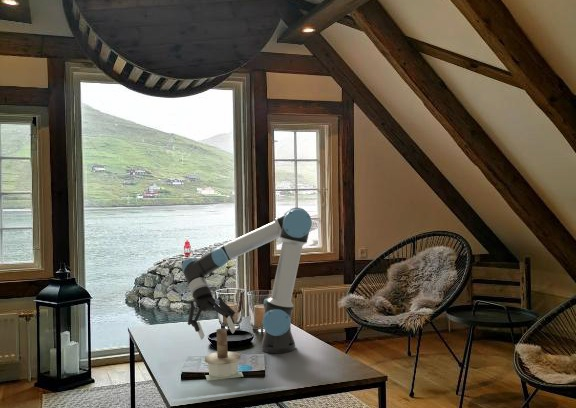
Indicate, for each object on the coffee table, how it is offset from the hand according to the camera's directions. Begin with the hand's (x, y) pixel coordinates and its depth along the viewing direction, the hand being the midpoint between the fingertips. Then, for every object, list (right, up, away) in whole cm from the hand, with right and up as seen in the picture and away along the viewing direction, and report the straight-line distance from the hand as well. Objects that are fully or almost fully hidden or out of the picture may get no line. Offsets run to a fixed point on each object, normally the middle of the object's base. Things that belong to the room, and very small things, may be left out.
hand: (218, 334), depth 225 cm
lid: (+2, -9, -1) cm, 10 cm away
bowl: (+2, -15, -1) cm, 15 cm away
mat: (+2, -15, -1) cm, 16 cm away
